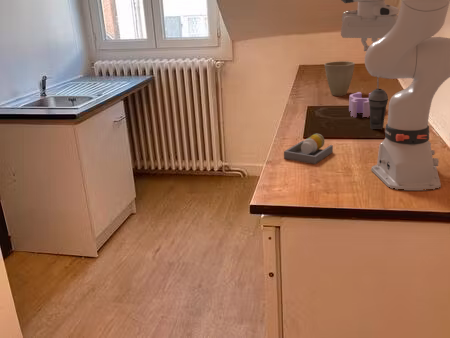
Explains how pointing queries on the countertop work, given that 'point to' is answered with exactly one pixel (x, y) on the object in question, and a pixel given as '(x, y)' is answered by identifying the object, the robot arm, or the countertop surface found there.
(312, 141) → the supplement bottle
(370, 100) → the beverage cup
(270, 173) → the countertop surface
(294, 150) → the tray
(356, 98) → the clip
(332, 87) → the plant pot
